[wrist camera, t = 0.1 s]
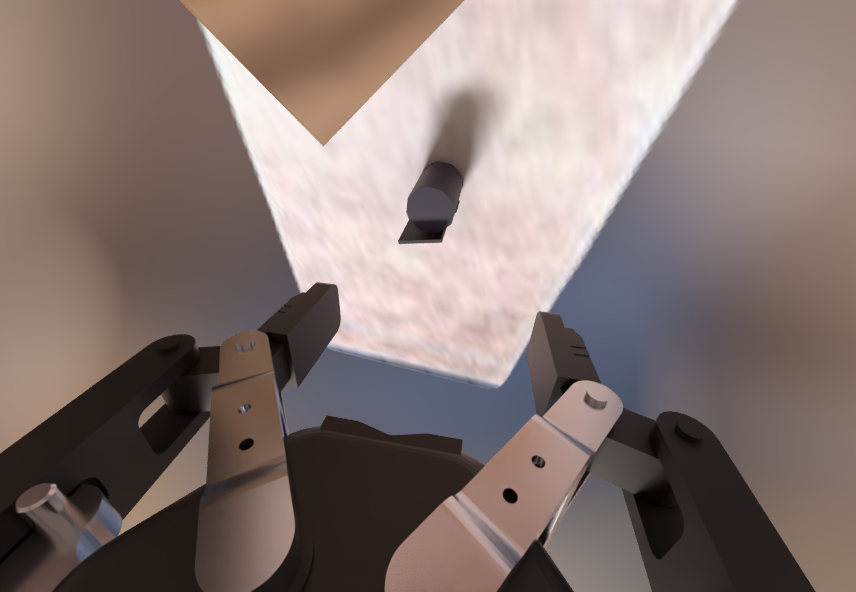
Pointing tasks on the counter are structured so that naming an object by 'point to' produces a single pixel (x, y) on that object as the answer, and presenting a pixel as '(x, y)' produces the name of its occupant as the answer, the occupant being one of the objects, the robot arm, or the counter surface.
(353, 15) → the walnut shelf
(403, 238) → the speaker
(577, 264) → the counter surface
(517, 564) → the robot arm
